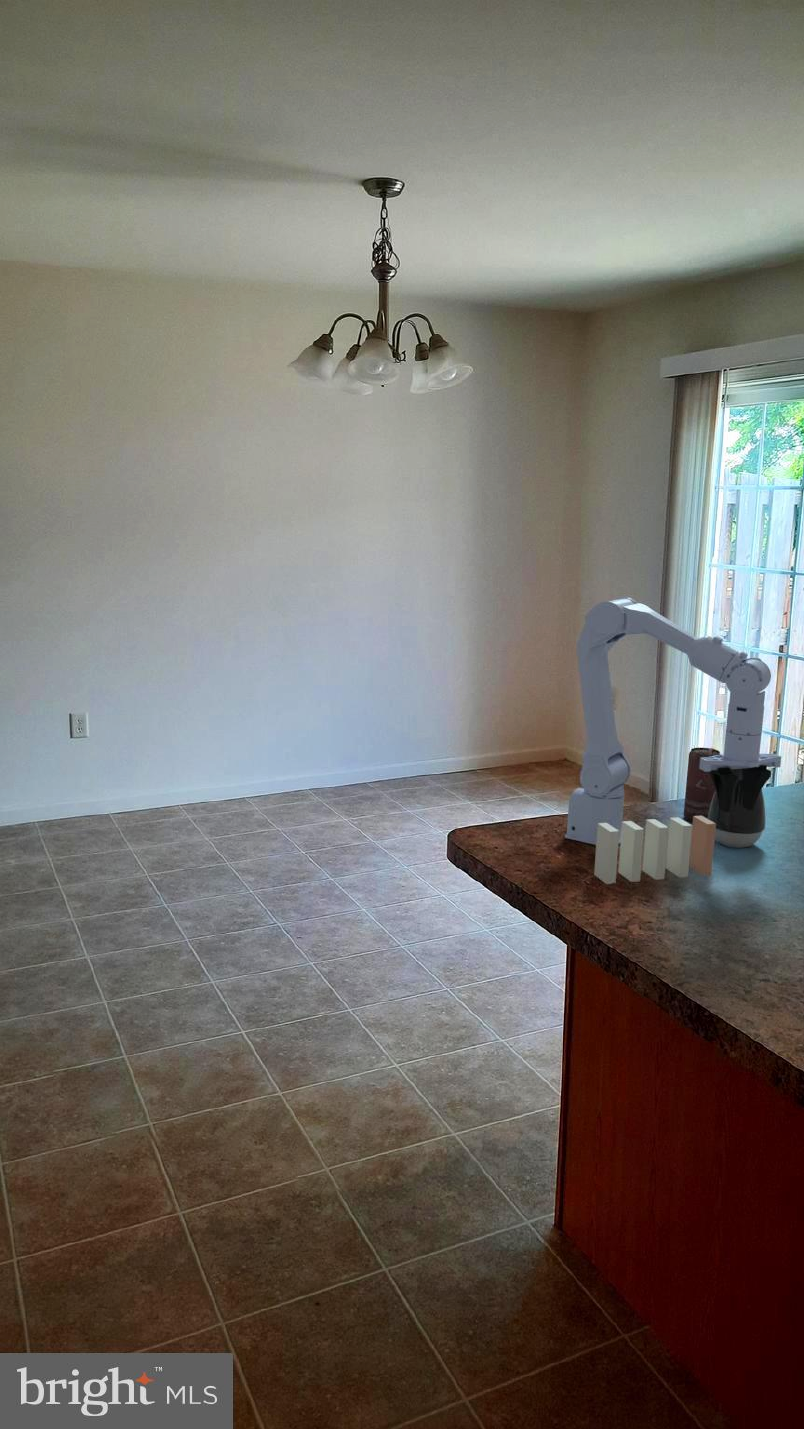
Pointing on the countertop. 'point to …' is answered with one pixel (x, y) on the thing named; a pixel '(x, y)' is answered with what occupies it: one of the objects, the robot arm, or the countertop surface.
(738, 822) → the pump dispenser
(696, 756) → the can
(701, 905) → the countertop surface
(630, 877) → the domino
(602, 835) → the domino
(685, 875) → the domino
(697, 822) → the end domino
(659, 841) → the domino
